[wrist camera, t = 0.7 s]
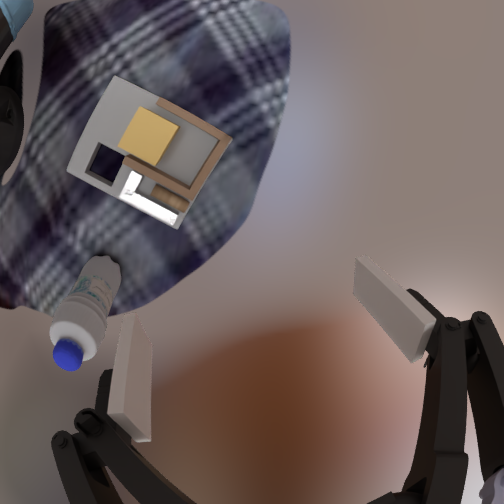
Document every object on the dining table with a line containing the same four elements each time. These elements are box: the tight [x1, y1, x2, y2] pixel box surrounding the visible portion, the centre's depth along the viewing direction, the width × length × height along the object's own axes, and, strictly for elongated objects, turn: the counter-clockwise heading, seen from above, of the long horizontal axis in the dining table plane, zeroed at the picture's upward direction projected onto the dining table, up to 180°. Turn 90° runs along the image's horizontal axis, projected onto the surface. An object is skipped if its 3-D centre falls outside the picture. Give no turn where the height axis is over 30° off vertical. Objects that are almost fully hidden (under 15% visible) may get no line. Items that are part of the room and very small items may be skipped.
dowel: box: [150, 184, 190, 213], centre depth 34 cm, size 5×2×2 cm, turn 56°
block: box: [118, 106, 180, 166], centre depth 29 cm, size 5×5×5 cm
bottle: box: [50, 255, 121, 371], centre depth 30 cm, size 7×7×20 cm
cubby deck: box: [66, 76, 233, 230], centre depth 32 cm, size 18×14×4 cm
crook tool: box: [119, 170, 179, 225], centre depth 34 cm, size 8×4×2 cm, turn 57°
